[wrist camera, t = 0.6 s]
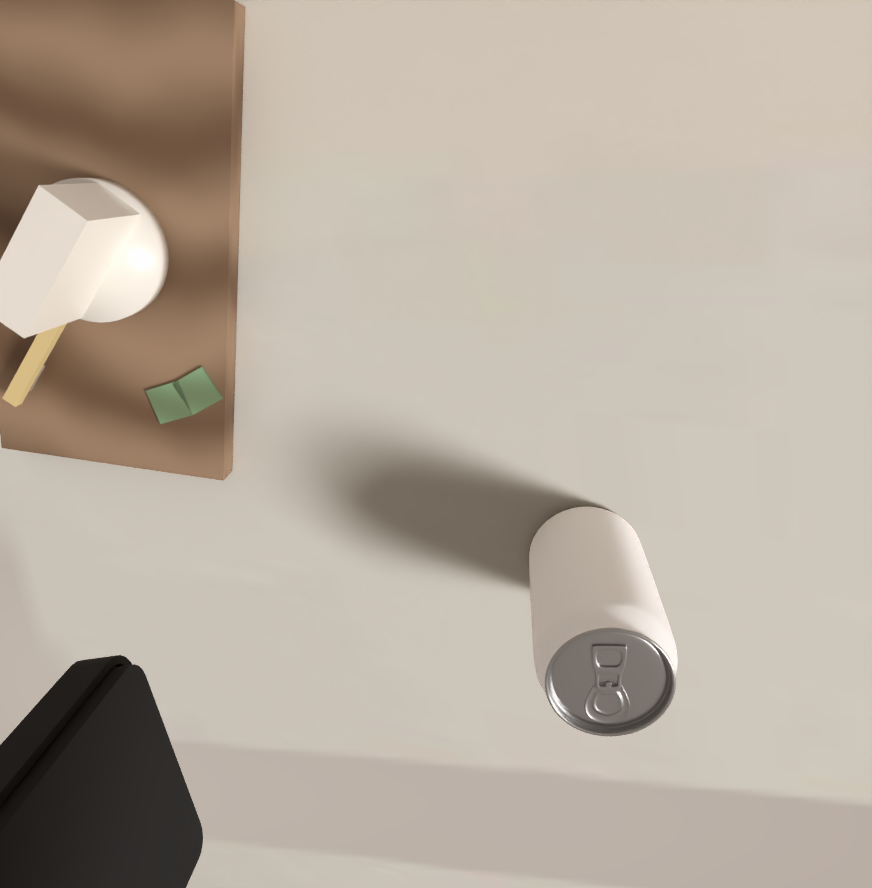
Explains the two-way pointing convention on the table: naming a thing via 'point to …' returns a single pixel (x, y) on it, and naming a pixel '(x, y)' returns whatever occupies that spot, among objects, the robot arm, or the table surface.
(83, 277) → the knob
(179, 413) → the dial board
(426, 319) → the table surface
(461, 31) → the table surface
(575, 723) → the can
